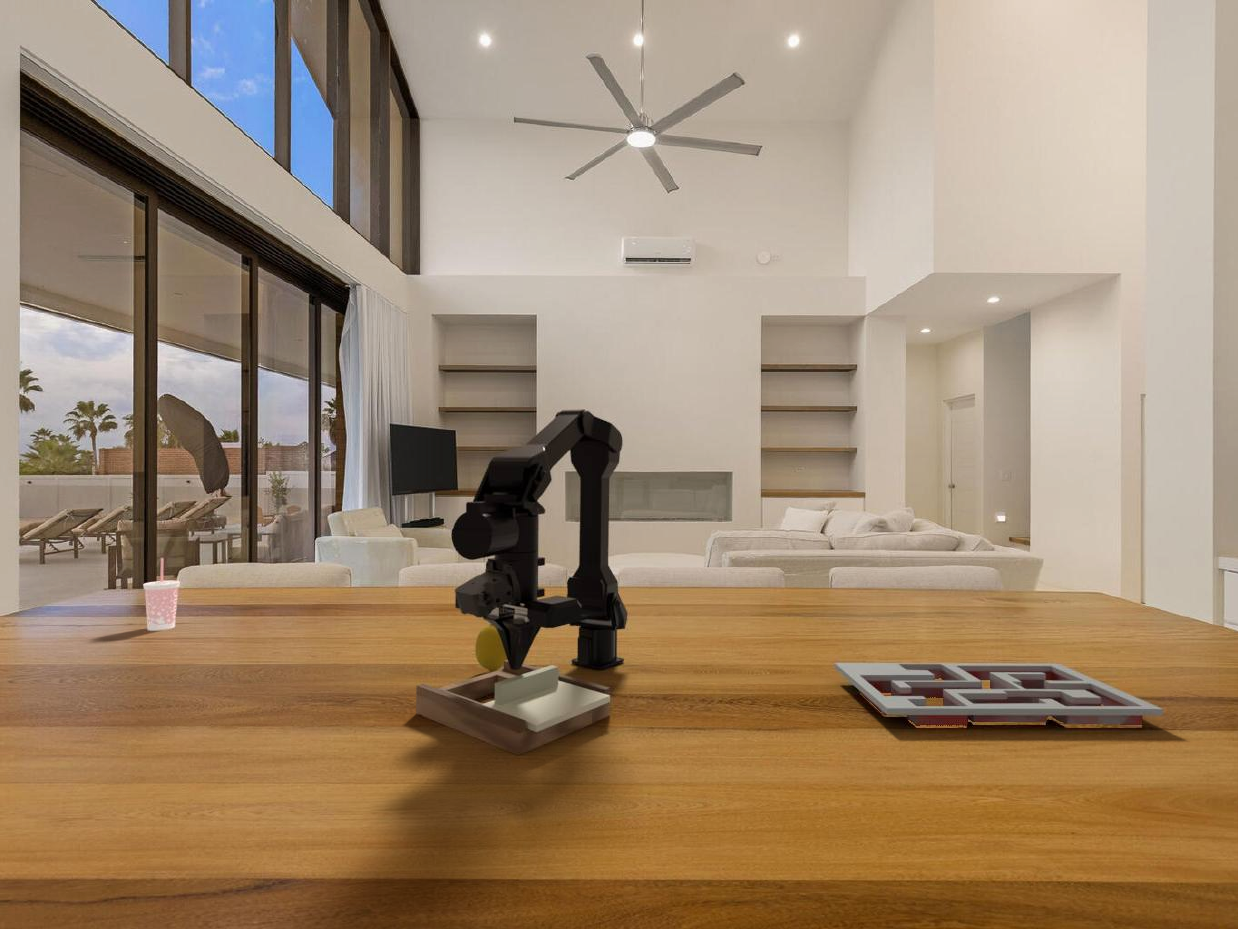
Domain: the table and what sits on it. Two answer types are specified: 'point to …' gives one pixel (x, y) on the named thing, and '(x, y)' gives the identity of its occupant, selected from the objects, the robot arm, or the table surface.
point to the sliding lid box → (495, 726)
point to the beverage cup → (161, 603)
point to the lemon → (490, 649)
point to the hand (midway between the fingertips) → (515, 669)
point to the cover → (543, 698)
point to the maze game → (993, 693)
